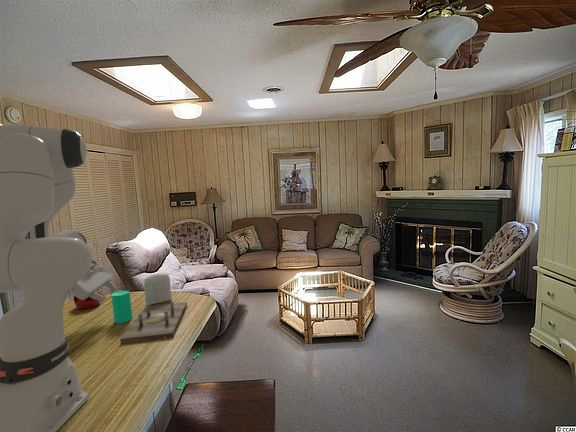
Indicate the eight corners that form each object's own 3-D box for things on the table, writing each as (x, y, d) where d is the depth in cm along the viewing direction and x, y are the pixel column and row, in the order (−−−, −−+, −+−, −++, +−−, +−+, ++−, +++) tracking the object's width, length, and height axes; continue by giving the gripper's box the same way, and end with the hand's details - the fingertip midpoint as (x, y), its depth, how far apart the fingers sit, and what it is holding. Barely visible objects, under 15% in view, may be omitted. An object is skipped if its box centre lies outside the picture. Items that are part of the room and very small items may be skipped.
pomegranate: (85, 302, 134) (83, 282, 133) (107, 301, 133) (105, 281, 132) (68, 311, 124) (65, 289, 123) (91, 310, 123) (89, 288, 123)
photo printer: (170, 297, 134) (167, 270, 132) (172, 300, 130) (170, 272, 129) (145, 303, 128) (142, 275, 127) (146, 306, 125) (144, 278, 123)
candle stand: (172, 337, 98) (171, 321, 97) (120, 343, 95) (118, 327, 95) (186, 305, 123) (185, 293, 123) (146, 310, 121) (144, 297, 120)
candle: (126, 323, 110) (123, 291, 109) (111, 323, 110) (107, 292, 109) (135, 315, 116) (132, 286, 115) (120, 316, 116) (116, 286, 115)
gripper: (68, 274, 99) (102, 299, 101) (98, 259, 119) (126, 280, 121) (55, 288, 99) (90, 313, 101) (87, 270, 119) (116, 292, 121)
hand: (110, 295), depth 111 cm, fingers open, 8 cm apart
